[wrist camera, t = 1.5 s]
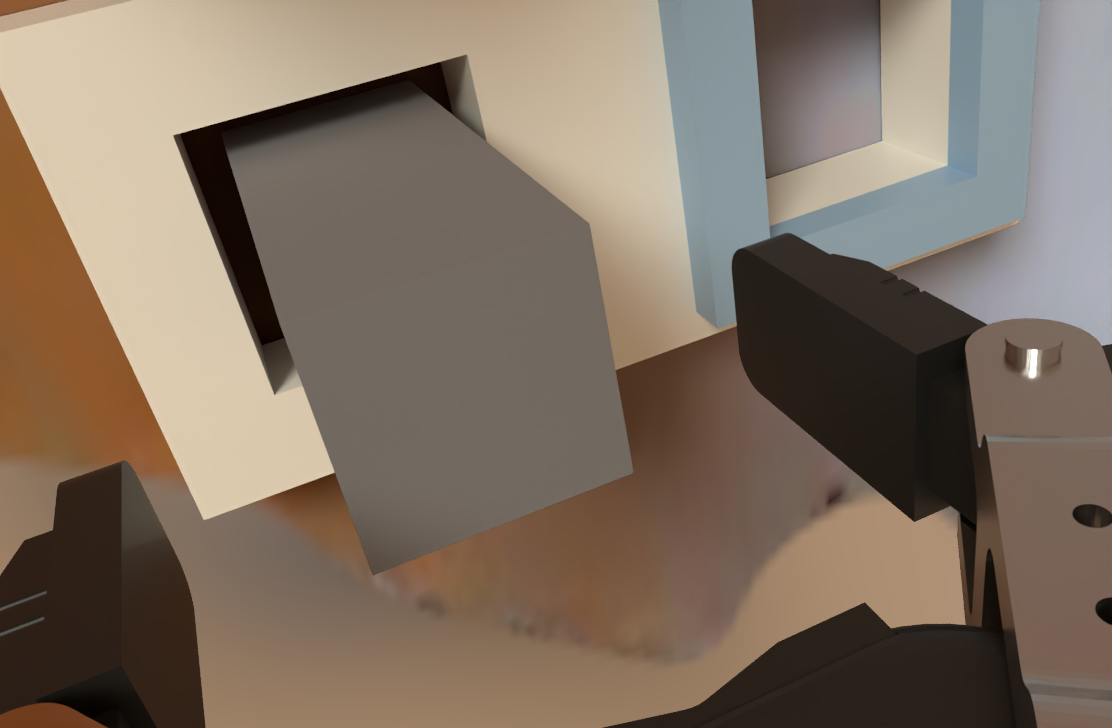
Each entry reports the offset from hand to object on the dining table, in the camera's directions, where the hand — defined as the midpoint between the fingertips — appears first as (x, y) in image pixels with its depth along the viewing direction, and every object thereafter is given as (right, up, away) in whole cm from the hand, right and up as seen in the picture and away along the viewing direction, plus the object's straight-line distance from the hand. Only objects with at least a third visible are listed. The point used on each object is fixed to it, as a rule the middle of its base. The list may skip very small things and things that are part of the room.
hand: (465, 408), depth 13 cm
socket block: (+2, +6, +10) cm, 12 cm away
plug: (-3, +4, +9) cm, 10 cm away
